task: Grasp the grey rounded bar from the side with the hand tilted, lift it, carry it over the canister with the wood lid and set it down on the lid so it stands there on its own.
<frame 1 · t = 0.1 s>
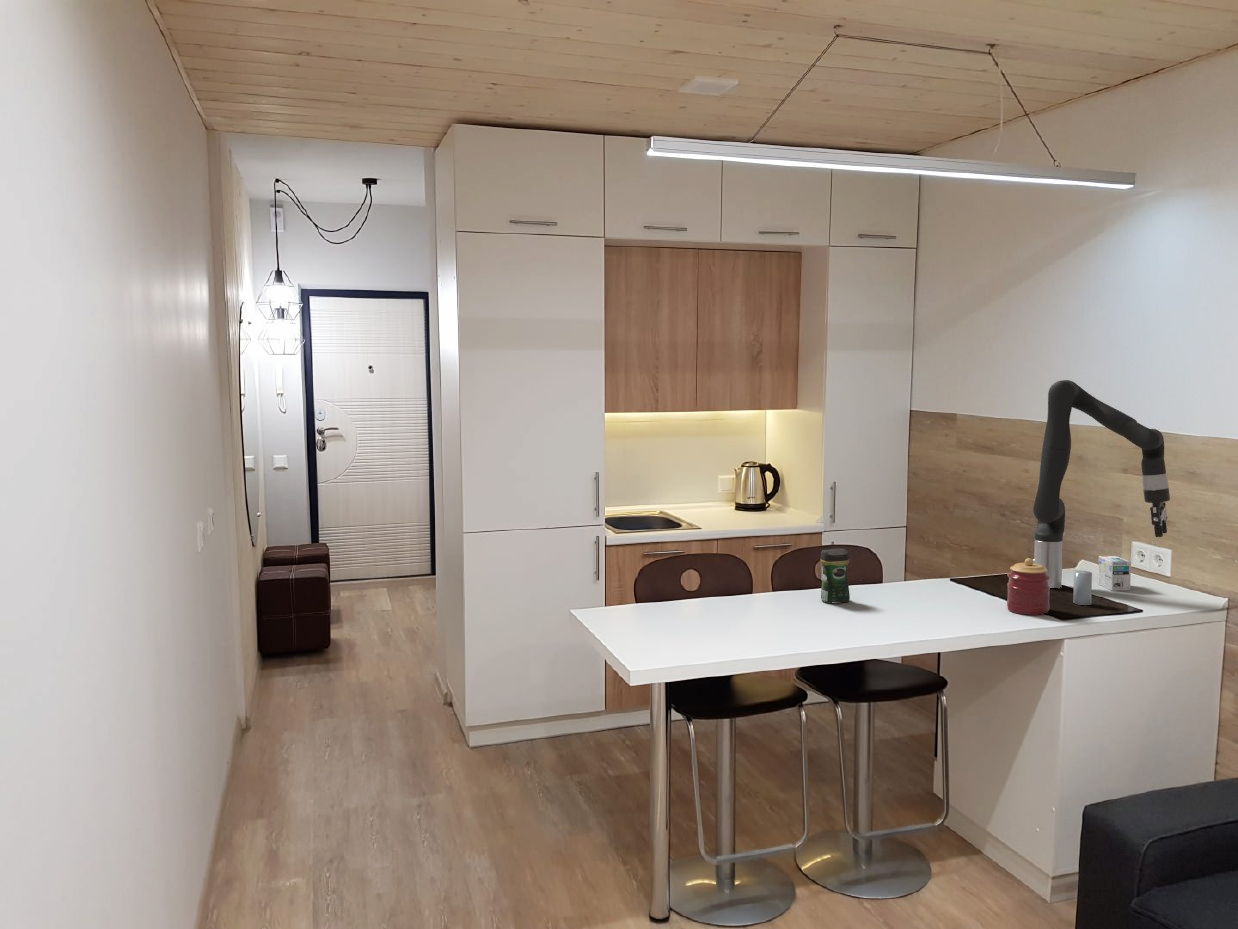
hand: (1161, 535, 316), 22 cm above the countertop, tool pointing down, fingers open, 8 cm apart
canister: (1027, 611, 308), on the countertop
grey rounded bar: (1082, 604, 315), on the countertop
coffee jar: (834, 601, 327), on the countertop
light bulb box: (1113, 588, 337), on the countertop
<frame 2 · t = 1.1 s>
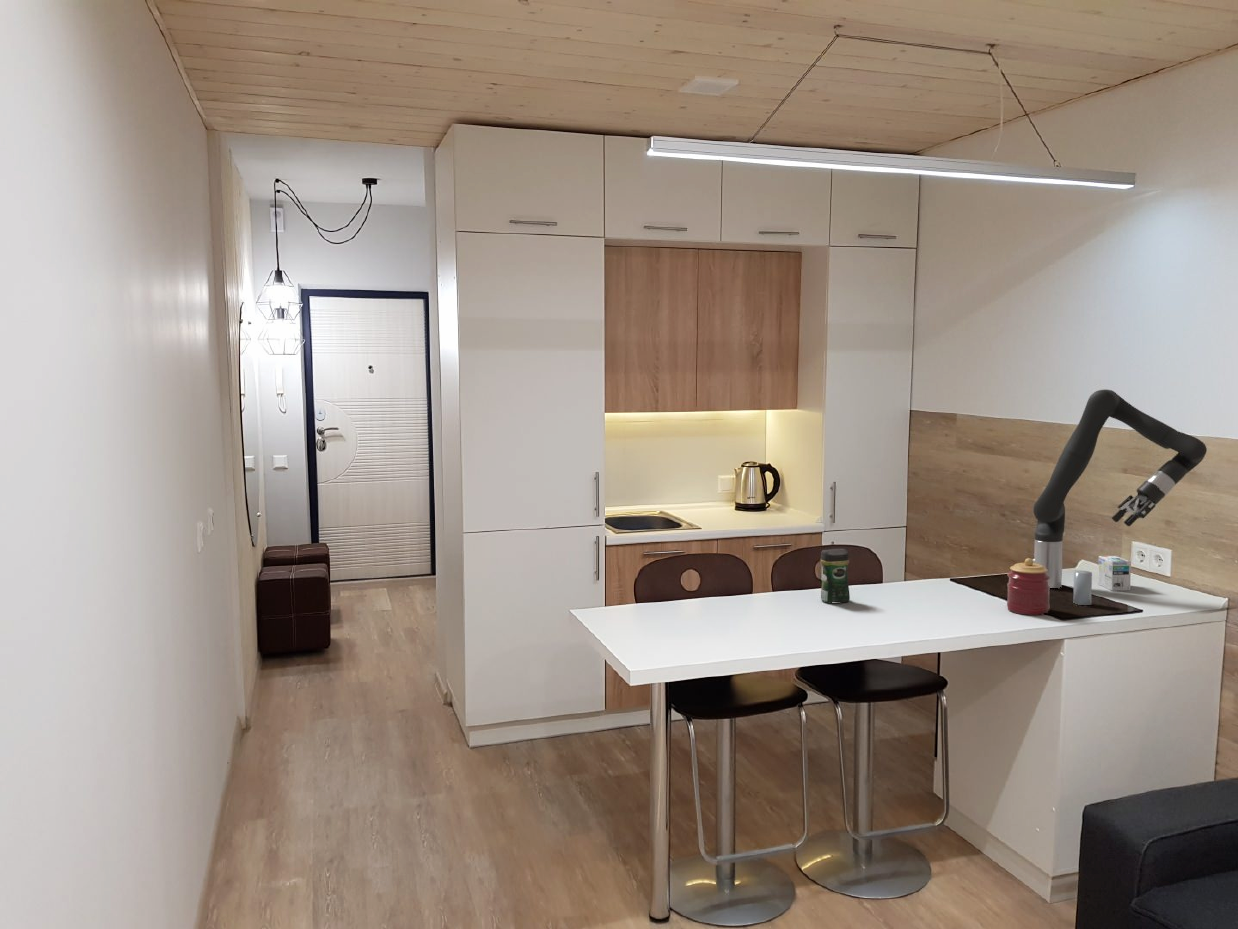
hand: (1119, 522, 311), 28 cm above the countertop, tool tilted 45°, fingers open, 8 cm apart
nothing on the countertop moved.
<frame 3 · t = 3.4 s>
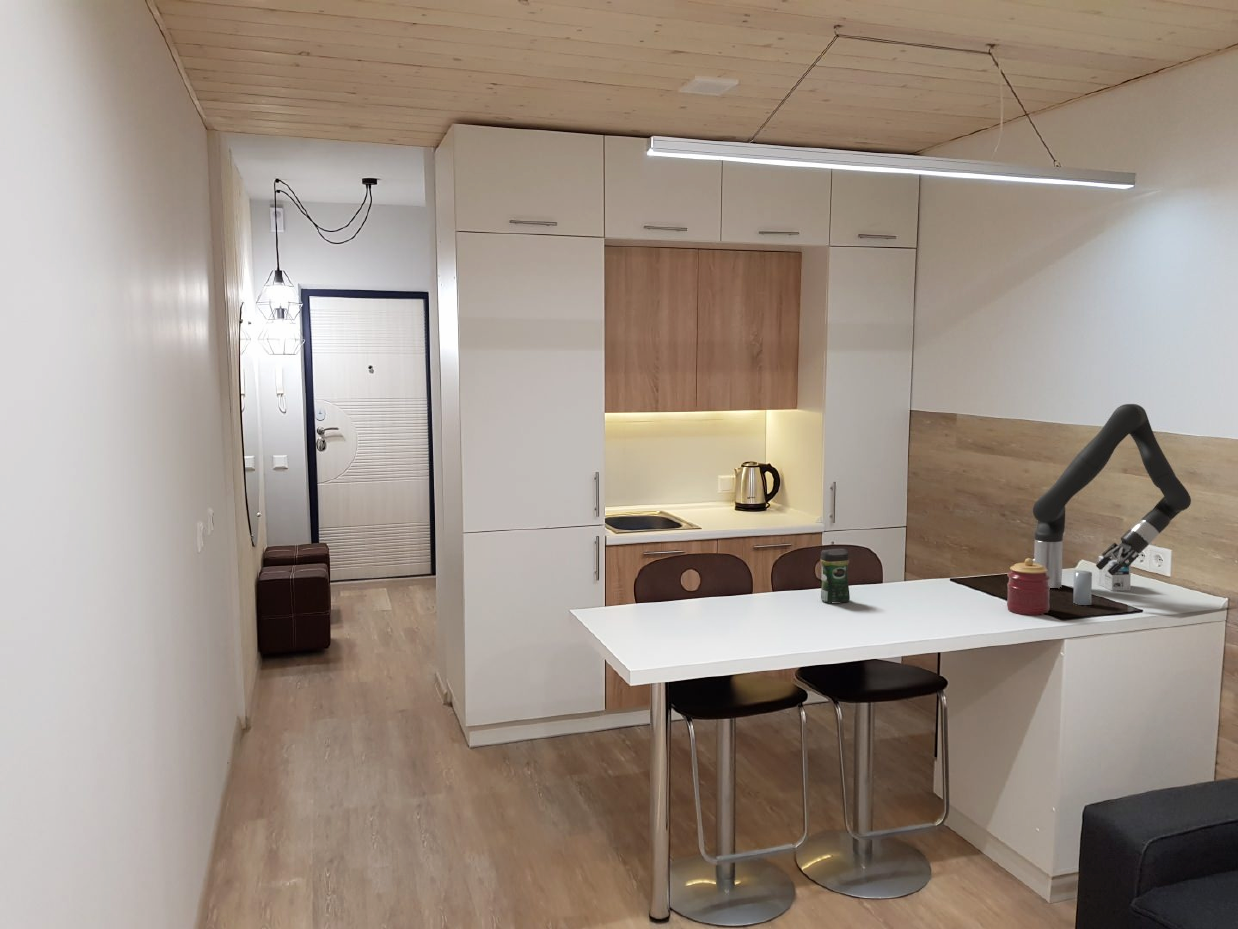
hand: (1103, 570, 313), 11 cm above the countertop, tool tilted 45°, fingers open, 8 cm apart
nothing on the countertop moved.
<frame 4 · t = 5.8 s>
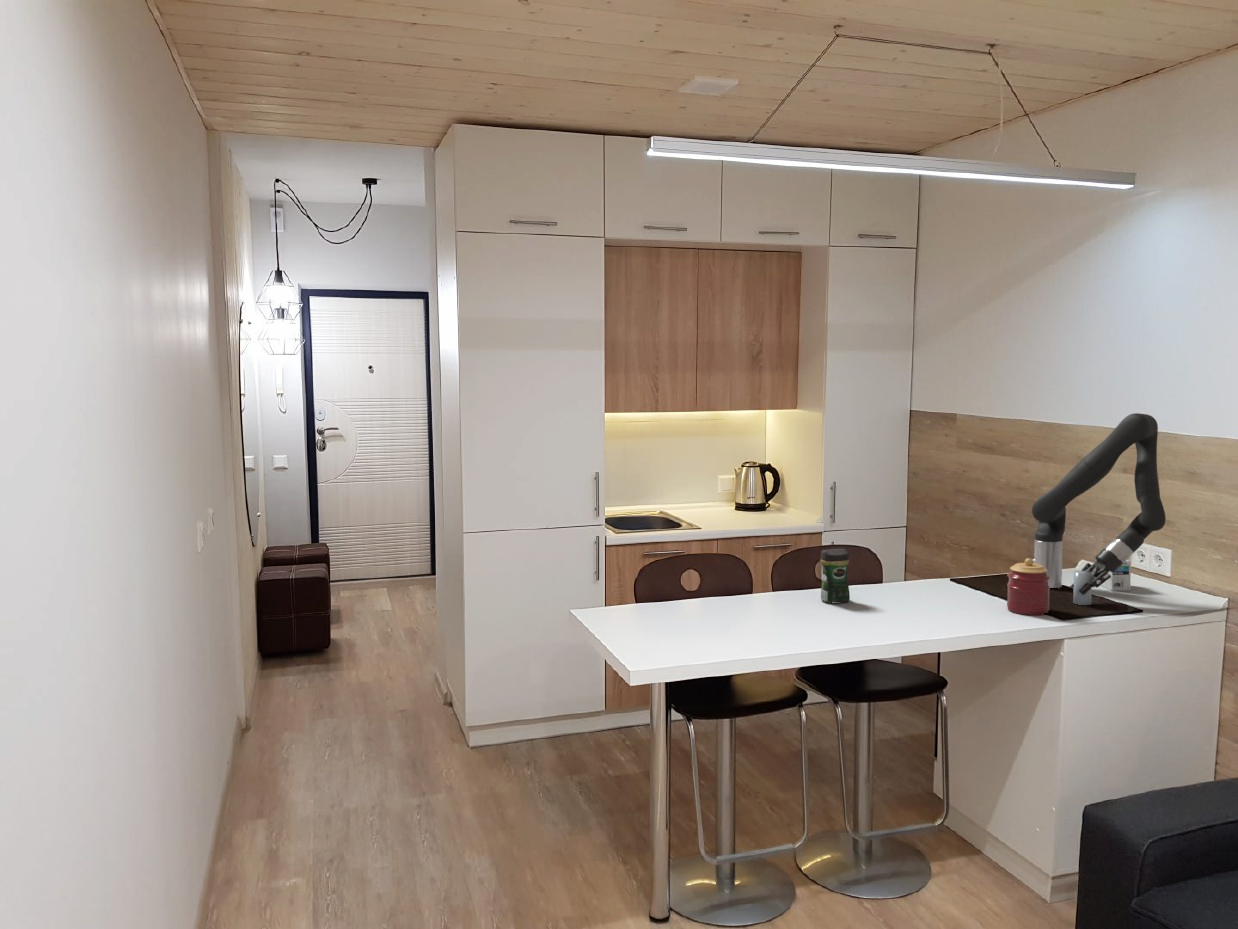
hand: (1077, 590, 314), 5 cm above the countertop, tool tilted 45°, fingers closed on grey rounded bar, 5 cm apart
grey rounded bar: (1082, 604, 315), on the countertop, touching gripper
everything else where it was.
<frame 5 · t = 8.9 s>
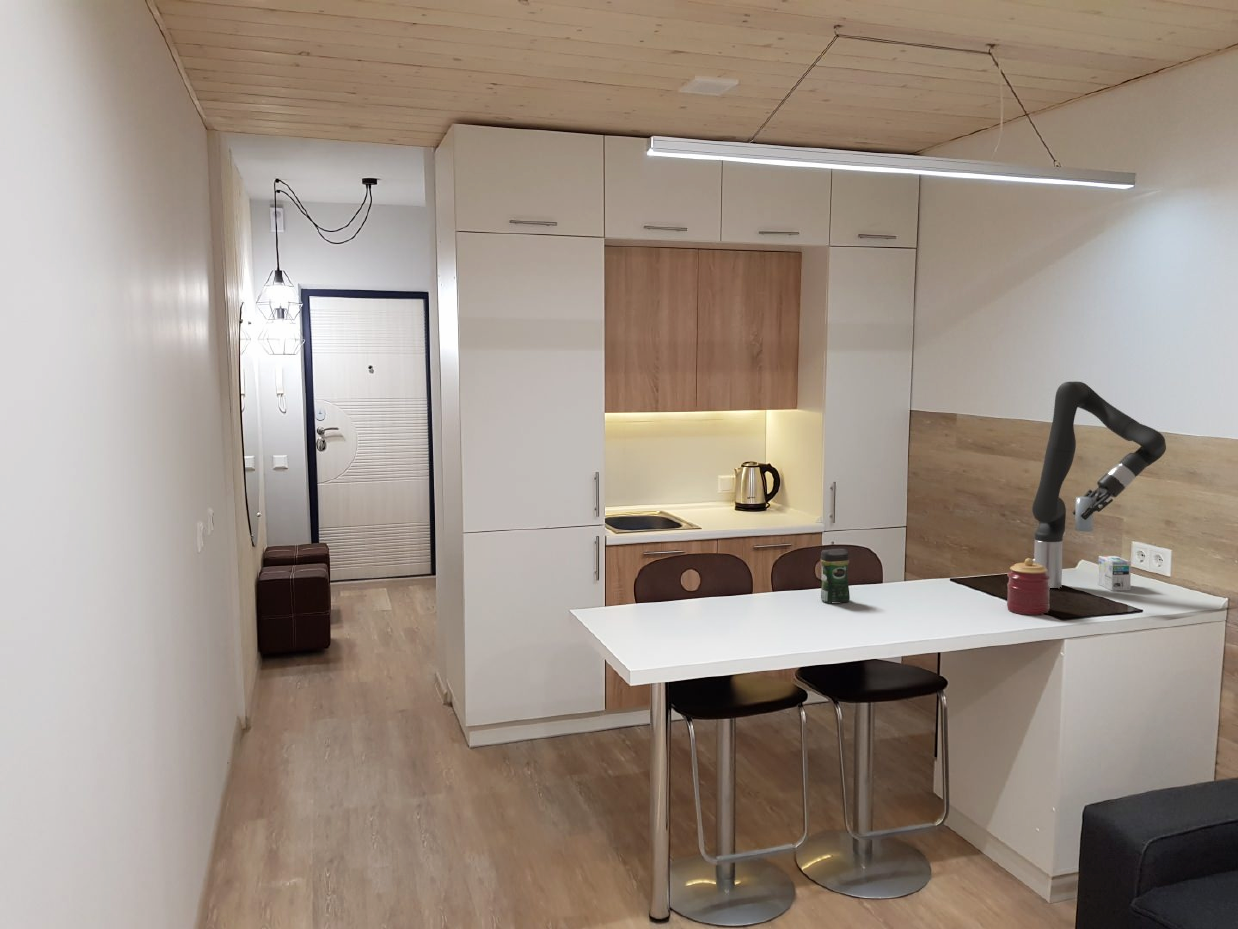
hand: (1078, 516, 312), 30 cm above the countertop, tool tilted 45°, fingers closed on grey rounded bar, 5 cm apart
grey rounded bar: (1083, 530, 312), point 25 cm above the countertop, touching gripper
everything else where it was.
when the fingers open (24 cm above the countertop, at t = 12.2 s): grey rounded bar drops 2 cm, resting on canister.
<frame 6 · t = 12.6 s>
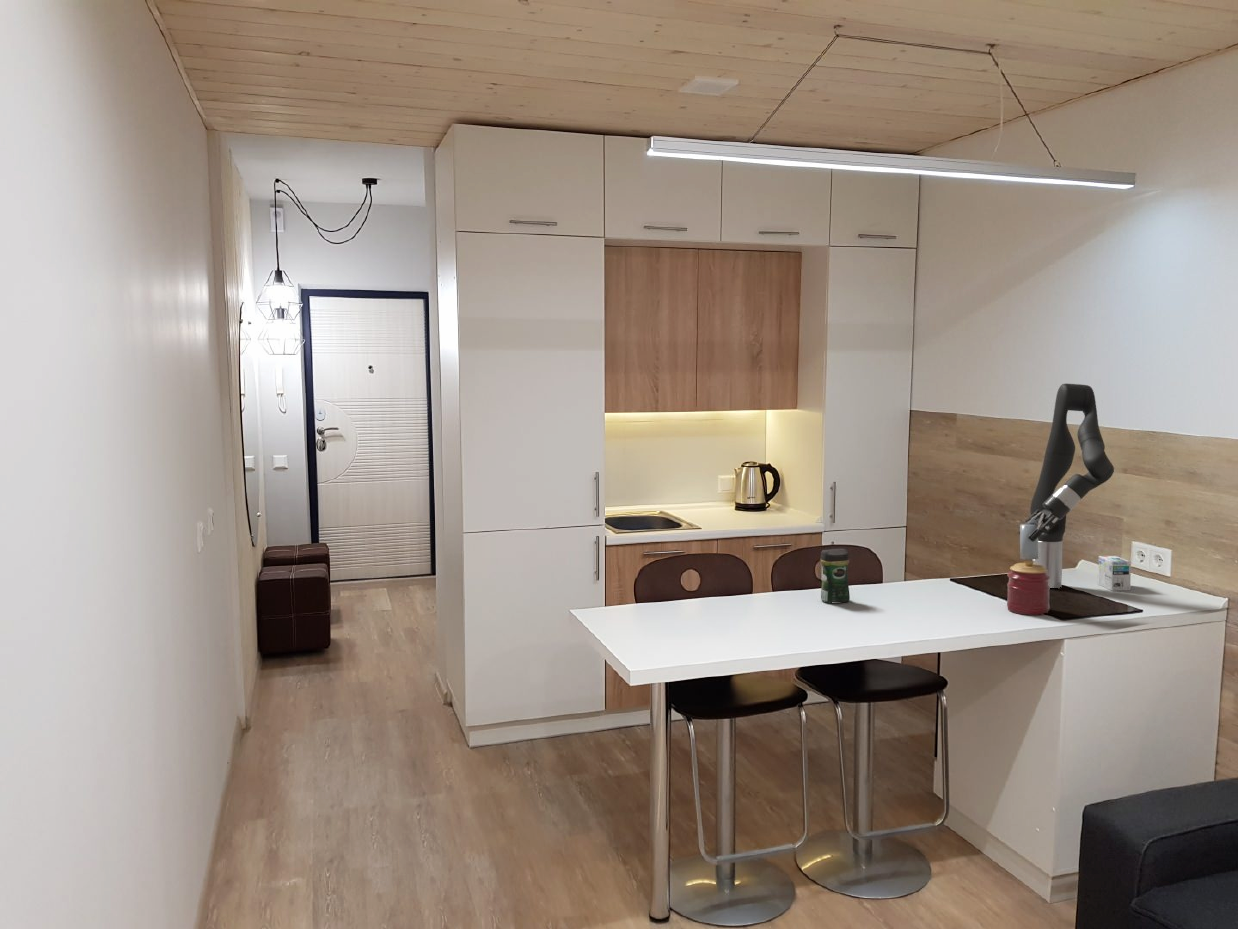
hand: (1025, 537, 306), 25 cm above the countertop, tool tilted 45°, fingers open, 8 cm apart
canister: (1027, 611, 308), on the countertop, touching grey rounded bar
grey rounded bar: (1029, 558, 307), point 18 cm above the countertop, touching canister
everything else where it was.
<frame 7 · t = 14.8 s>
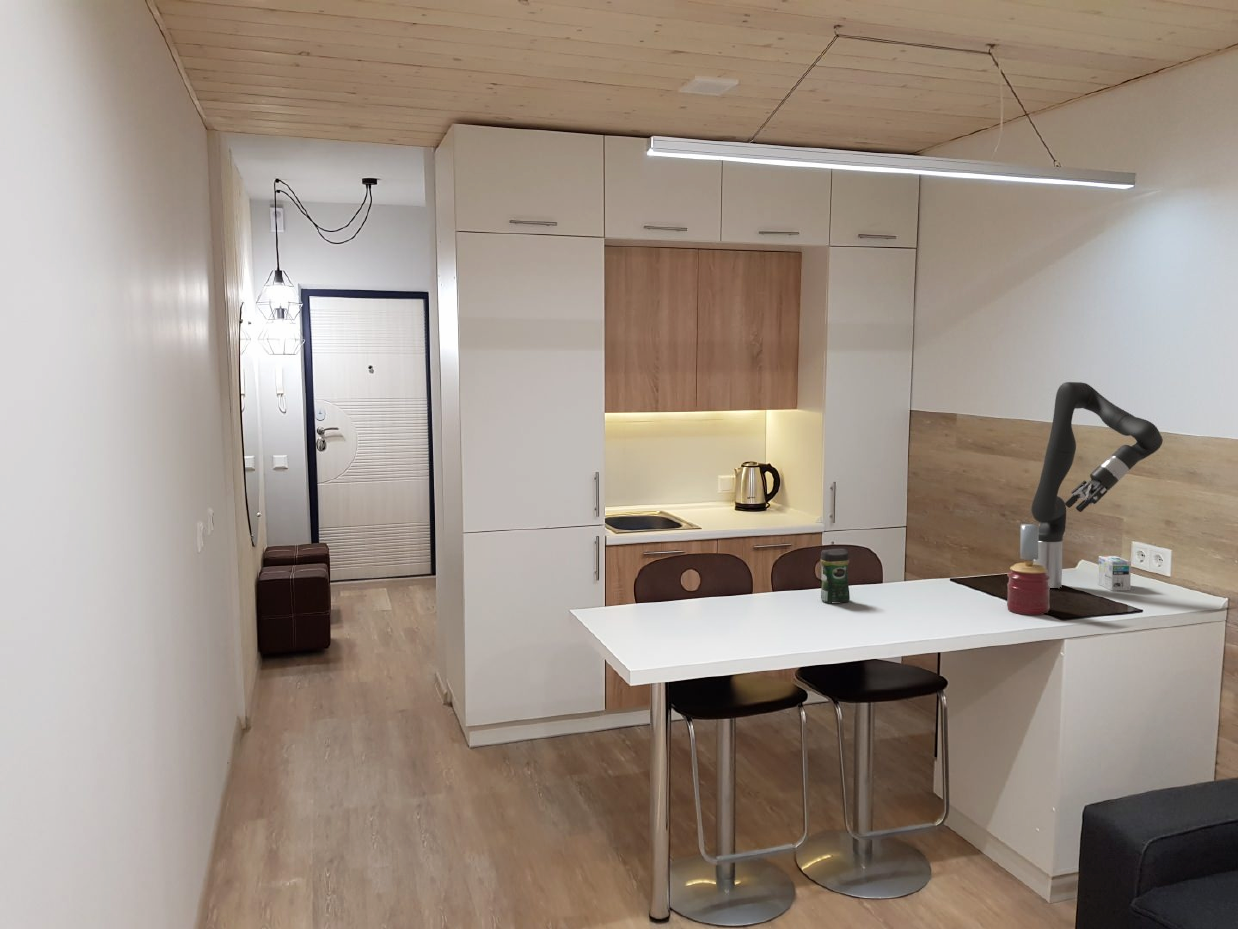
hand: (1072, 508, 305), 34 cm above the countertop, tool tilted 45°, fingers open, 8 cm apart
nothing on the countertop moved.
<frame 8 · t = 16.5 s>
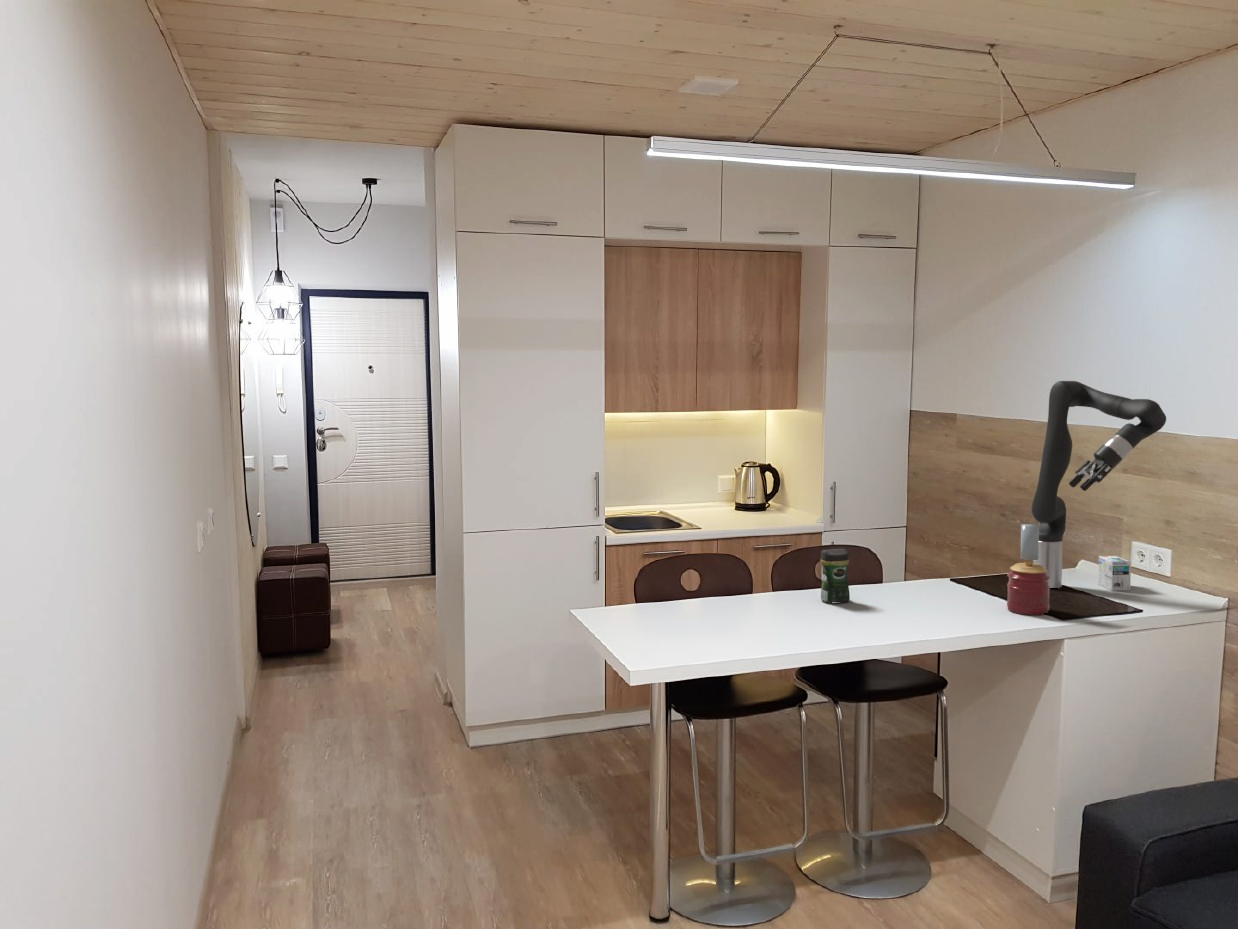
hand: (1076, 487, 305), 41 cm above the countertop, tool tilted 45°, fingers open, 8 cm apart
nothing on the countertop moved.
at the end: grey rounded bar 0.1 cm from the canister (horizontally); grey rounded bar point 17.6 cm above the countertop; grey rounded bar tilted 0° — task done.
